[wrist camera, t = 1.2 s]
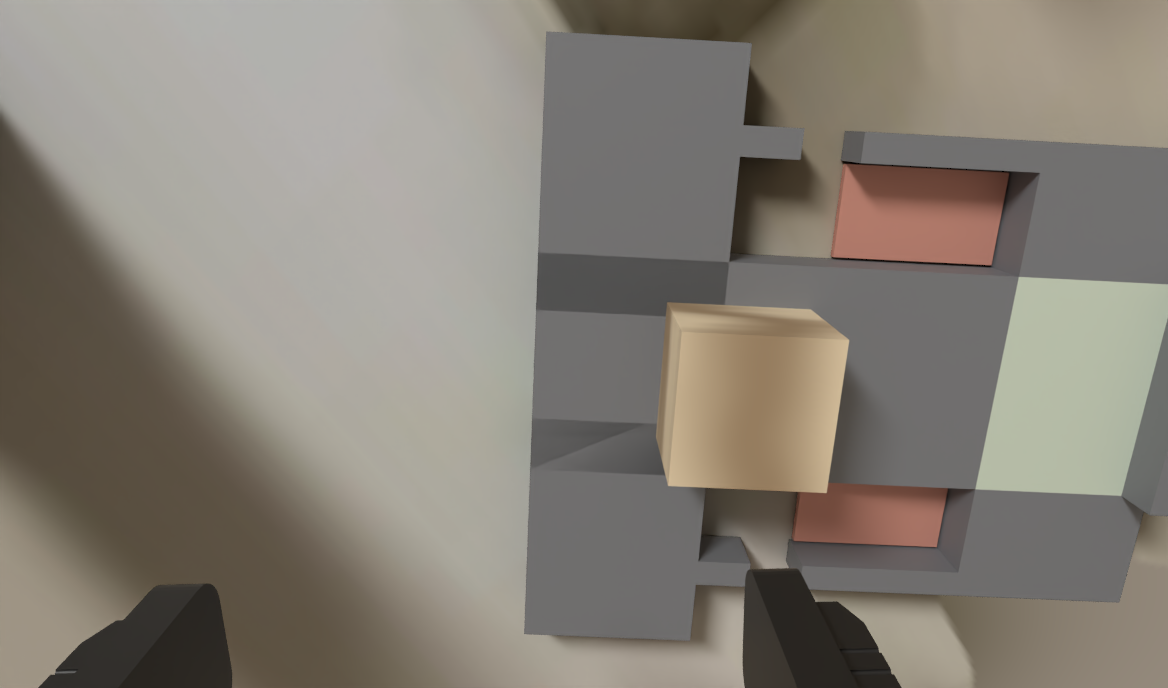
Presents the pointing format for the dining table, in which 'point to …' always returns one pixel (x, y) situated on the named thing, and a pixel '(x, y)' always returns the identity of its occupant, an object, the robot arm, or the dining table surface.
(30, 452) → the dining table surface
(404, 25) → the dining table surface
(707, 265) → the track
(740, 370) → the block
